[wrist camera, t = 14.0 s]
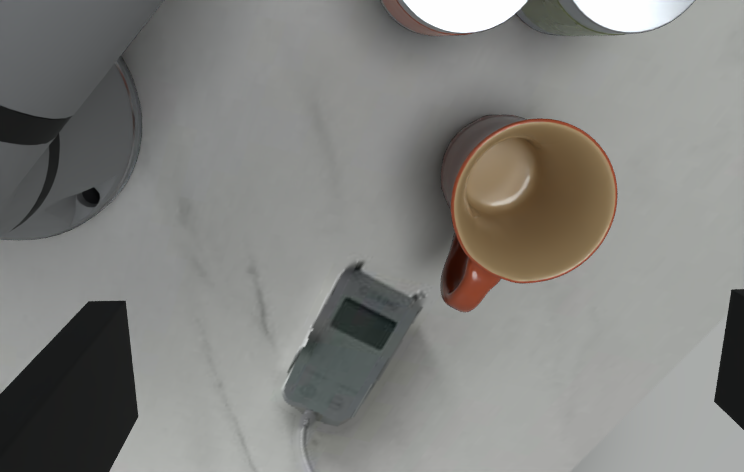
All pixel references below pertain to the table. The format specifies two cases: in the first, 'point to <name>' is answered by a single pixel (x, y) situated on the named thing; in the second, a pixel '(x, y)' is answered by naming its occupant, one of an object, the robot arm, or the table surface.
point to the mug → (522, 204)
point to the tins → (535, 15)
